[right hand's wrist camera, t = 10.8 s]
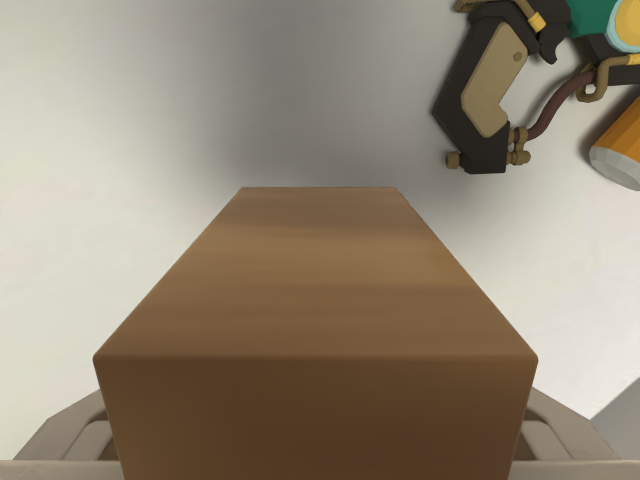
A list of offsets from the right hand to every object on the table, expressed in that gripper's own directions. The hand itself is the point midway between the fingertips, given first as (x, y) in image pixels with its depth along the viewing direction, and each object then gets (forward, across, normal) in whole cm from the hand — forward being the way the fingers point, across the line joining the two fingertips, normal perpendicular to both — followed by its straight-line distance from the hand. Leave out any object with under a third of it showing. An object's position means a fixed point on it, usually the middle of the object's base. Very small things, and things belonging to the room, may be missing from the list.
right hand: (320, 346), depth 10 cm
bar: (+3, 0, -8) cm, 8 cm away
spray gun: (+16, +15, +8) cm, 24 cm away
